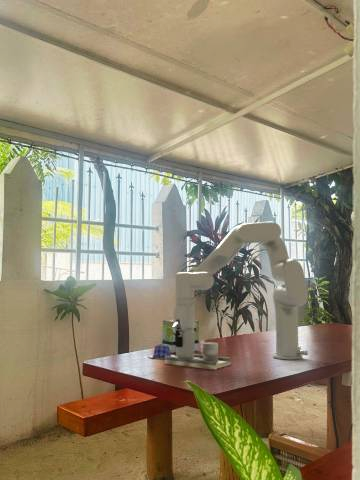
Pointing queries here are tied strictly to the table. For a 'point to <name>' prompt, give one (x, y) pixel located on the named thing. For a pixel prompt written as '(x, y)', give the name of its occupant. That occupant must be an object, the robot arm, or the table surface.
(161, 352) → the blue plaid cloth
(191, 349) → the can
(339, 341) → the table surface
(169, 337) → the tea box
